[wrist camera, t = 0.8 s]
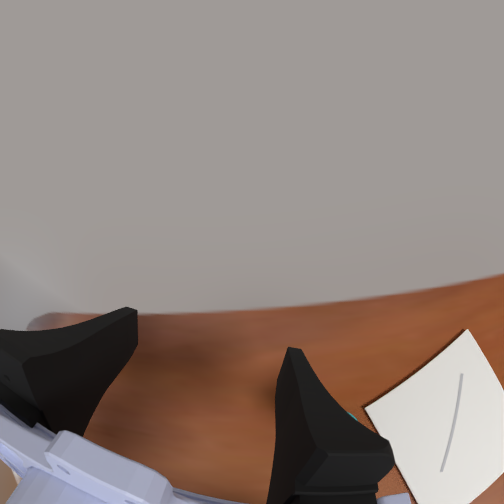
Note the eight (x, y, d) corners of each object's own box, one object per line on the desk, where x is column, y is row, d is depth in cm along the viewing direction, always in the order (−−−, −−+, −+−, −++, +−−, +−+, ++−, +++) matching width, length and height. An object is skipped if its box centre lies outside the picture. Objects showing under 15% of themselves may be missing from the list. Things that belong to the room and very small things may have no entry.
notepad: (525, 445, 11) (528, 445, 10) (430, 528, 10) (432, 530, 10) (465, 330, 20) (467, 328, 19) (364, 408, 20) (365, 408, 19)
